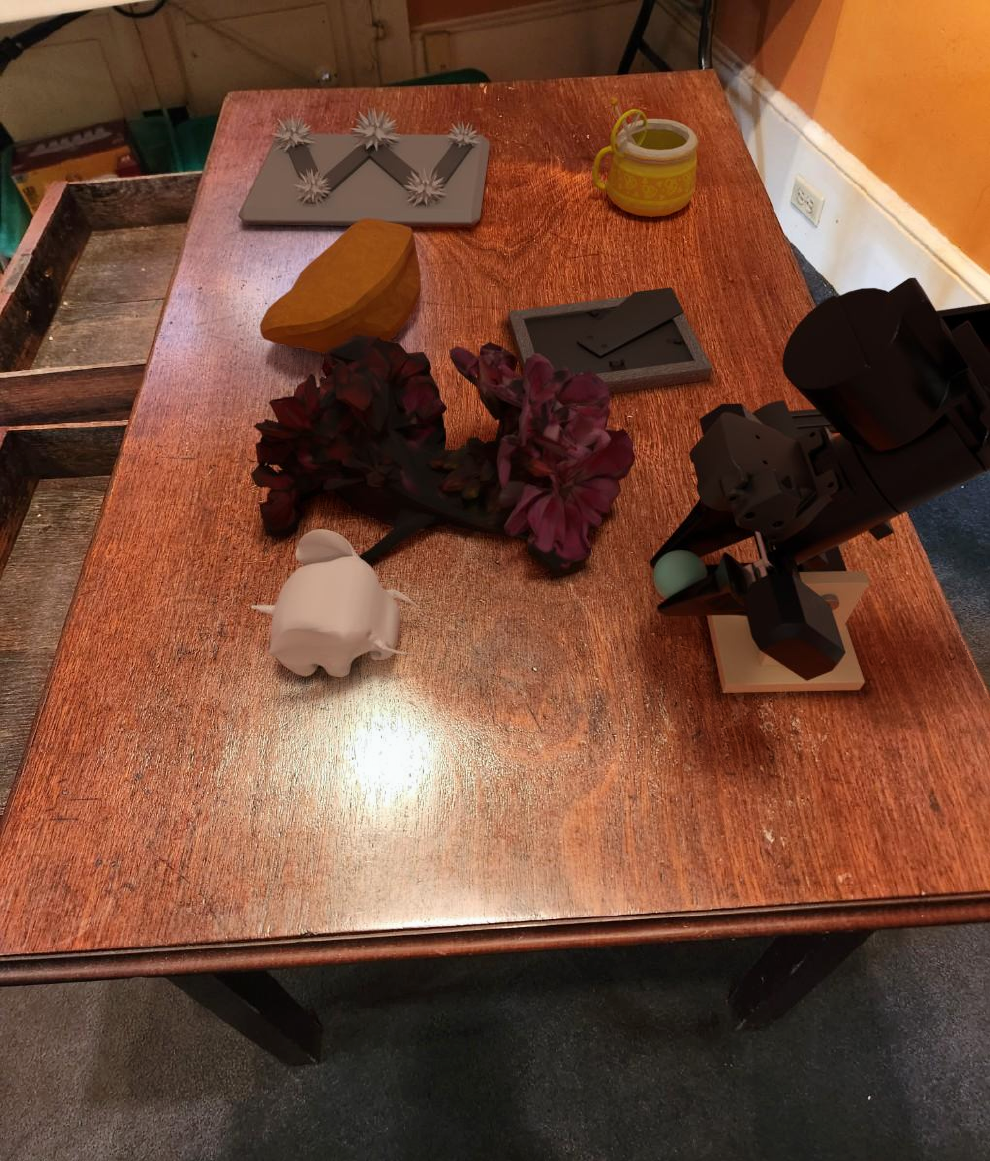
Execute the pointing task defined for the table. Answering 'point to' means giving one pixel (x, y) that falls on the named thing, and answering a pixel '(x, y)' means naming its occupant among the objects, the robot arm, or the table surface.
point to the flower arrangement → (447, 477)
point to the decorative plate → (369, 177)
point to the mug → (649, 165)
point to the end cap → (791, 419)
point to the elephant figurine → (332, 609)
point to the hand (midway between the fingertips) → (656, 588)
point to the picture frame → (615, 340)
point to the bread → (350, 290)
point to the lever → (711, 570)
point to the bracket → (761, 673)
